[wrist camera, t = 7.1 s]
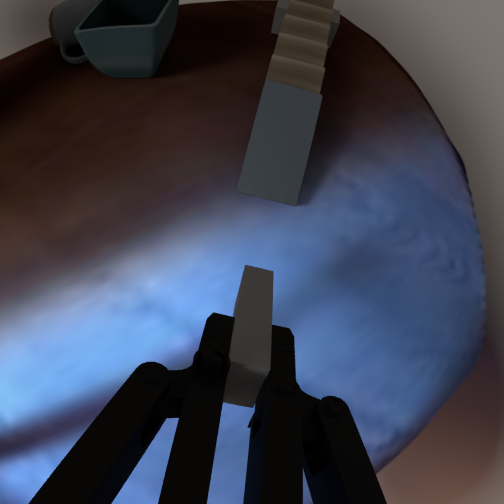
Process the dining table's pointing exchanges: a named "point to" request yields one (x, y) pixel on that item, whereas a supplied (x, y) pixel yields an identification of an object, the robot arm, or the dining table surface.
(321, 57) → the domino
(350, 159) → the dining table surface
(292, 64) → the domino
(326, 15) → the domino
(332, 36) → the end block
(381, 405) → the dining table surface
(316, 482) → the robot arm
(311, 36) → the domino
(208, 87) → the dining table surface
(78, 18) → the ceramic mug
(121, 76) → the flower pot
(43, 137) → the dining table surface
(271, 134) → the domino
